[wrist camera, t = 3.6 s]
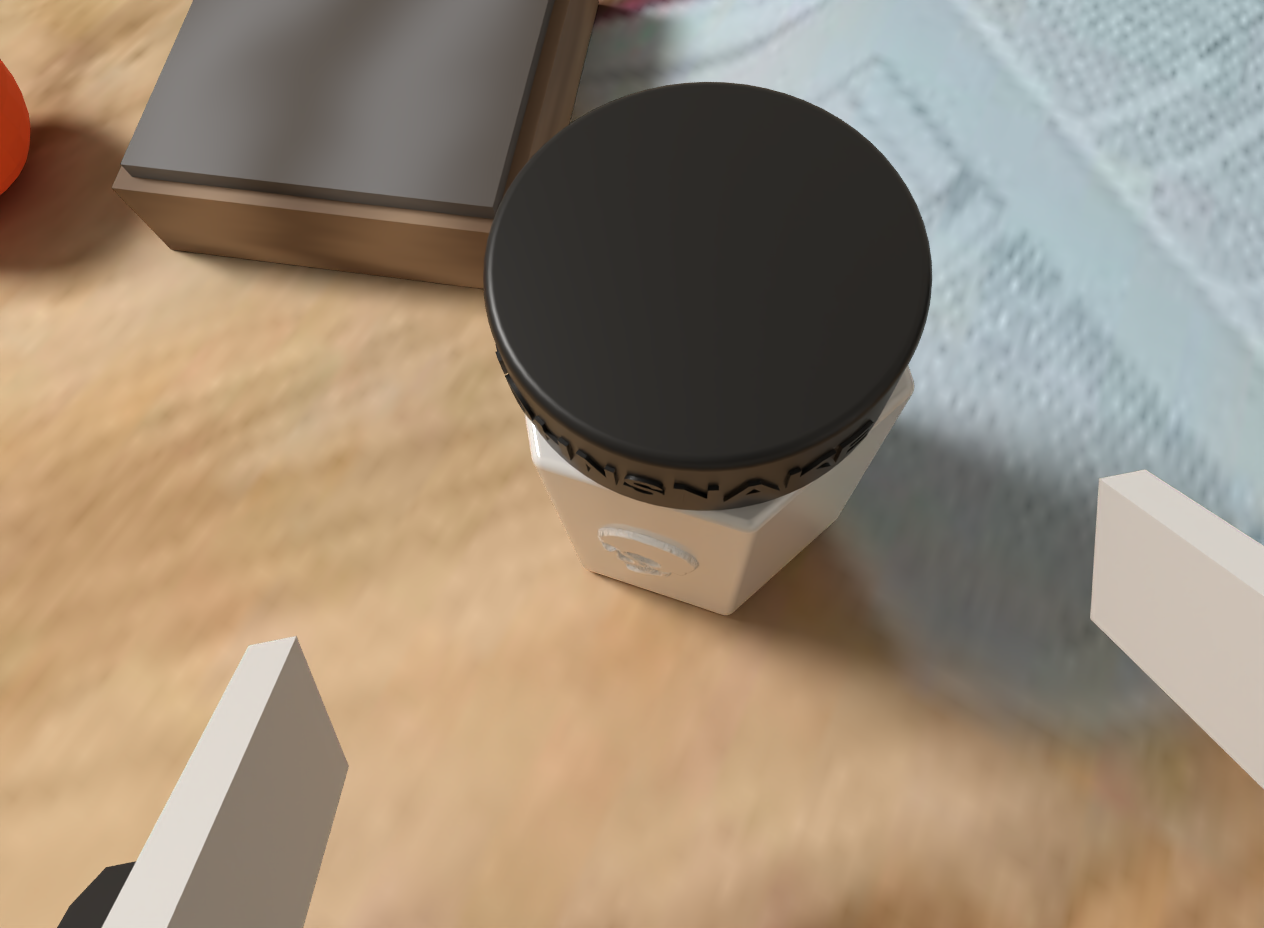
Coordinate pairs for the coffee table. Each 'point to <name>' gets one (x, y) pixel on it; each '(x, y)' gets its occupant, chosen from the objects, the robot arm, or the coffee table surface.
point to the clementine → (12, 129)
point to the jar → (705, 328)
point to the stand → (352, 128)
